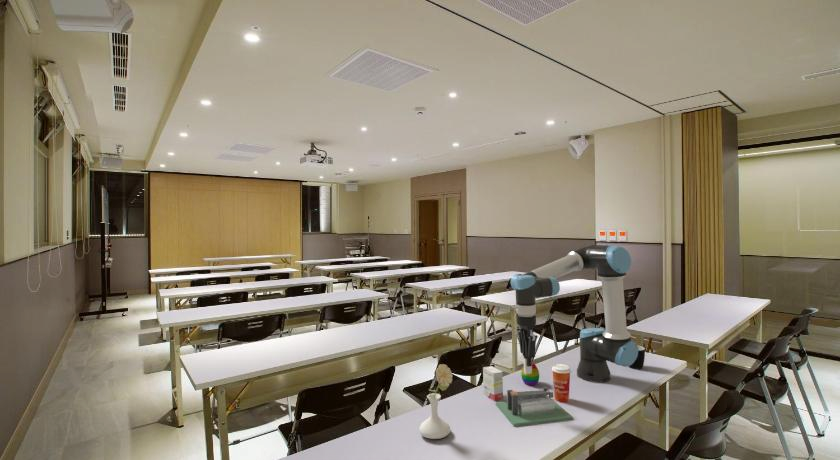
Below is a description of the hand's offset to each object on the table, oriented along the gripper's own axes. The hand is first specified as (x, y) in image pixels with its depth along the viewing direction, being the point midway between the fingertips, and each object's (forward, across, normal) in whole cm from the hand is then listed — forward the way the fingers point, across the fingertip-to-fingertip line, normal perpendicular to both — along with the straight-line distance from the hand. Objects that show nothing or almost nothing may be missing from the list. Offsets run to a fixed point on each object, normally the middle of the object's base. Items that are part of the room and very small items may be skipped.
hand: (528, 373), depth 158 cm
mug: (+17, -33, +73) cm, 82 cm away
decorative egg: (+16, -26, +13) cm, 33 cm away
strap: (+9, 0, +1) cm, 9 cm away
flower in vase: (+15, +7, -40) cm, 43 cm away
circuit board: (+16, 0, +1) cm, 16 cm away
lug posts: (+16, 0, -7) cm, 17 cm away
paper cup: (+16, -7, +18) cm, 25 cm away
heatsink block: (+15, 0, +2) cm, 15 cm away
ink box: (+16, -17, -9) cm, 25 cm away
